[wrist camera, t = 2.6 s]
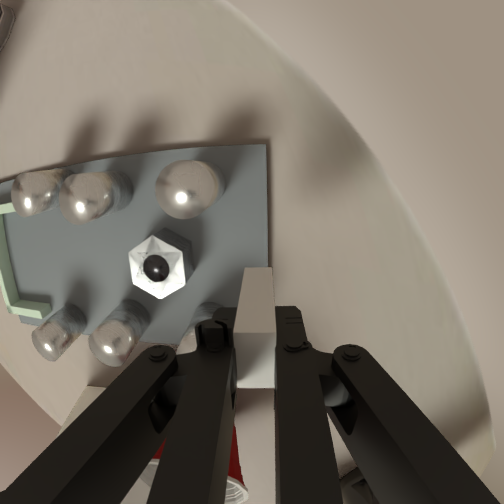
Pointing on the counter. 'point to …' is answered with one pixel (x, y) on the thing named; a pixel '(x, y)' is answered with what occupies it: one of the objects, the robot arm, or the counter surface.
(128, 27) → the counter surface
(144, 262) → the nut
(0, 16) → the can
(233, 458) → the plastic cup
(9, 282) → the parts pocket
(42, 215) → the board
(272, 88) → the counter surface
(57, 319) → the spacers
